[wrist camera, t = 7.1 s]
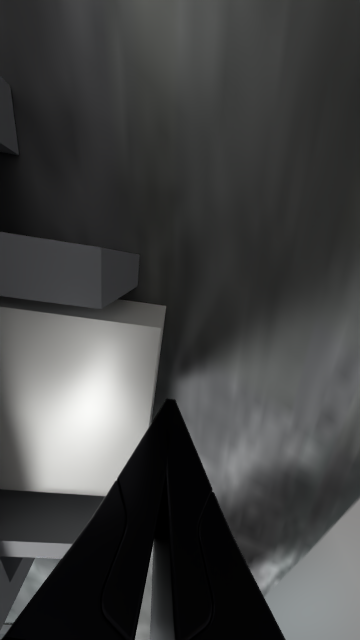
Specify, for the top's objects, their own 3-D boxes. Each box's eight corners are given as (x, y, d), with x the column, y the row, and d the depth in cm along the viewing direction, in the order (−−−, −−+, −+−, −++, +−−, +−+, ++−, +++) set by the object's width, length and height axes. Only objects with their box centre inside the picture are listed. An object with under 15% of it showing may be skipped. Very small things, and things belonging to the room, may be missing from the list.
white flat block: (148, 440, 10) (139, 498, 7) (-40, 424, 9) (-116, 481, 7) (166, 305, 7) (161, 328, 5) (-95, 269, 6) (-250, 273, 4)
